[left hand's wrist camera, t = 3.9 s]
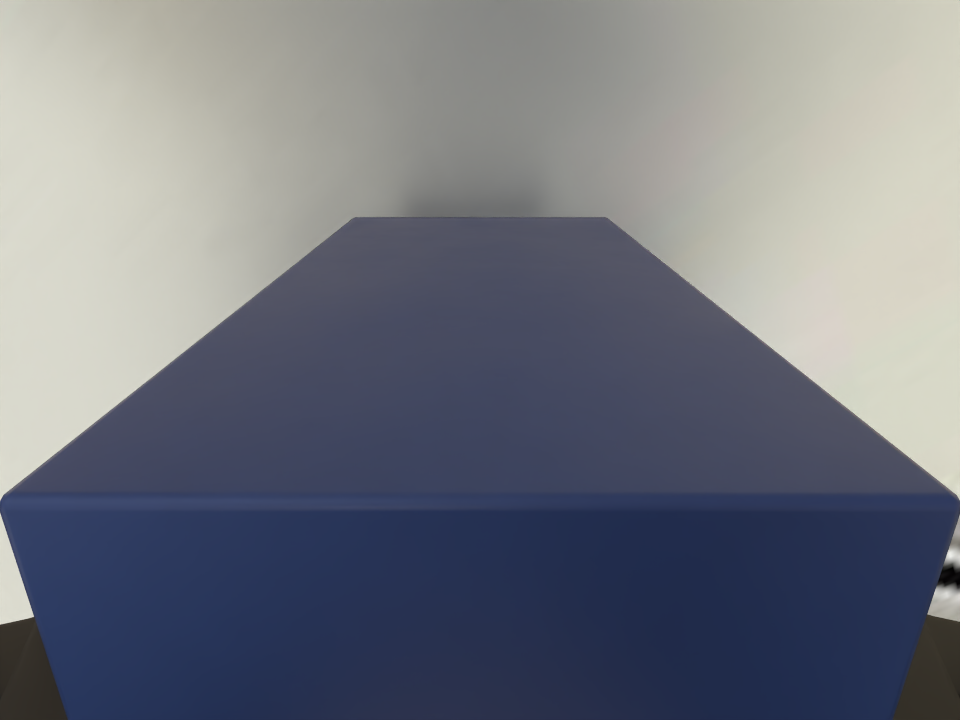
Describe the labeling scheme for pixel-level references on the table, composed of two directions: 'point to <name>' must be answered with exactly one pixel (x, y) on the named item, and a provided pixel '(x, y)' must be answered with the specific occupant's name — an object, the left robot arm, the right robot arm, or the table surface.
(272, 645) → the box
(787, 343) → the table surface
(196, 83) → the table surface
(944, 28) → the table surface
